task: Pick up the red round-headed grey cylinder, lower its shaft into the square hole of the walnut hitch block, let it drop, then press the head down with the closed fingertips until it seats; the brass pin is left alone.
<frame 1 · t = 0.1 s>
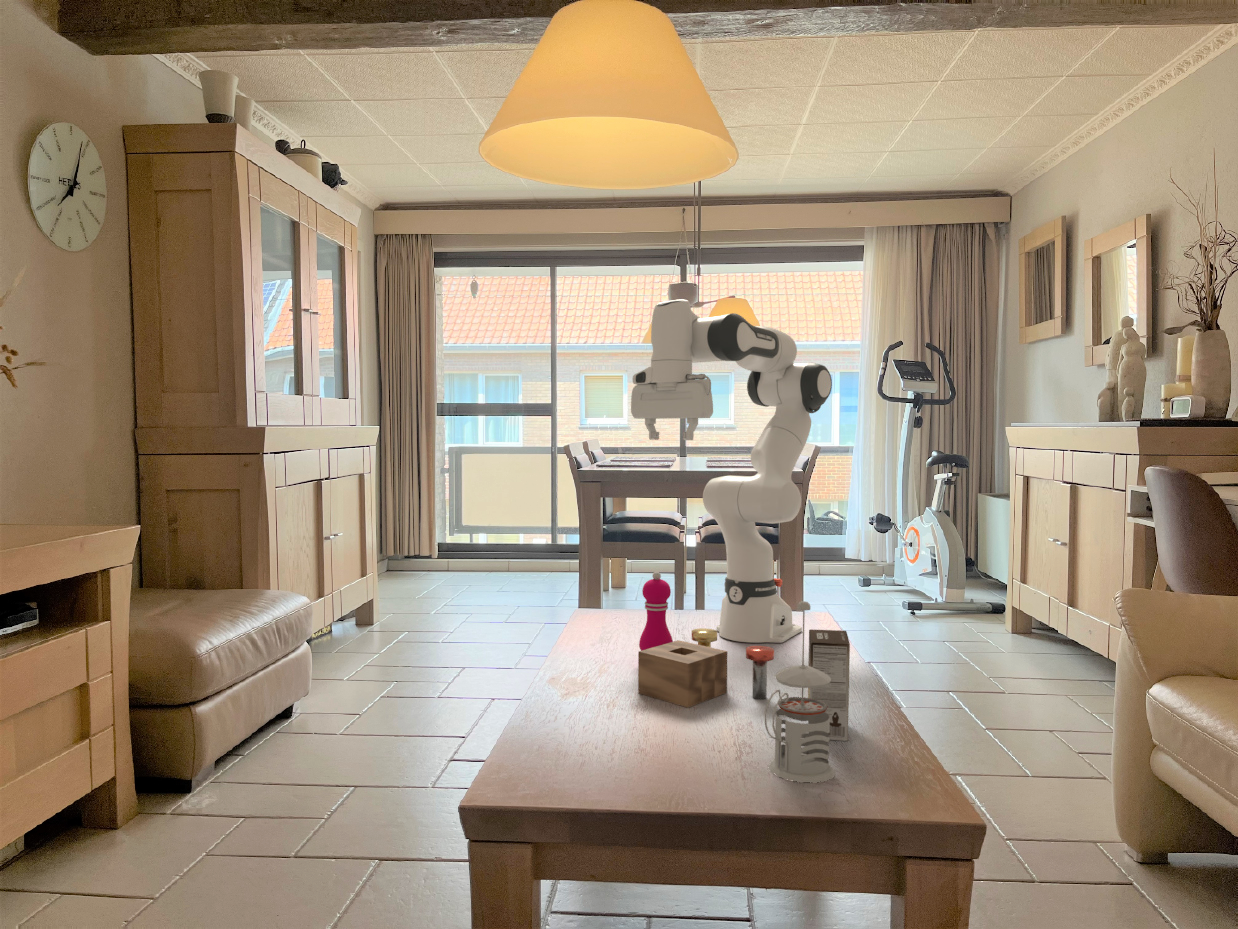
hand: (670, 440, 179), 48 cm above the table, tool pointing down, fingers open, 8 cm apart
coffee box: (827, 732, 140), on the table
french press: (797, 772, 123), on the table
brass pin: (703, 675, 171), on the table
pepper mill: (655, 666, 178), on the table
hitch block: (682, 693, 159), on the table
red round-headed grey cylinder: (759, 697, 157), on the table
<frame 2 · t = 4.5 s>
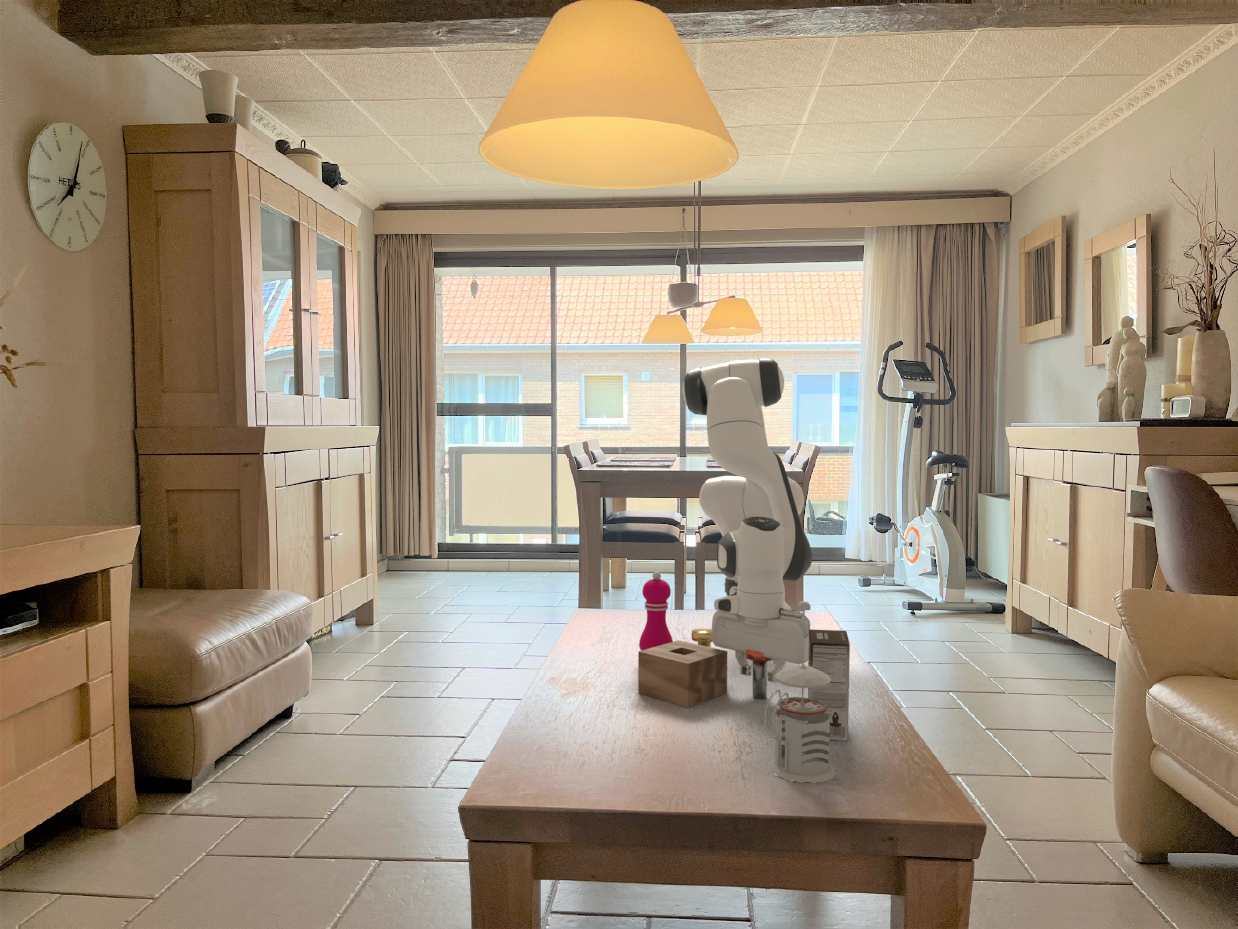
hand: (759, 678, 157), 4 cm above the table, tool pointing down, fingers closed on red round-headed grey cylinder, 5 cm apart
red round-headed grey cylinder: (759, 697, 157), on the table, touching gripper
everything else where it was.
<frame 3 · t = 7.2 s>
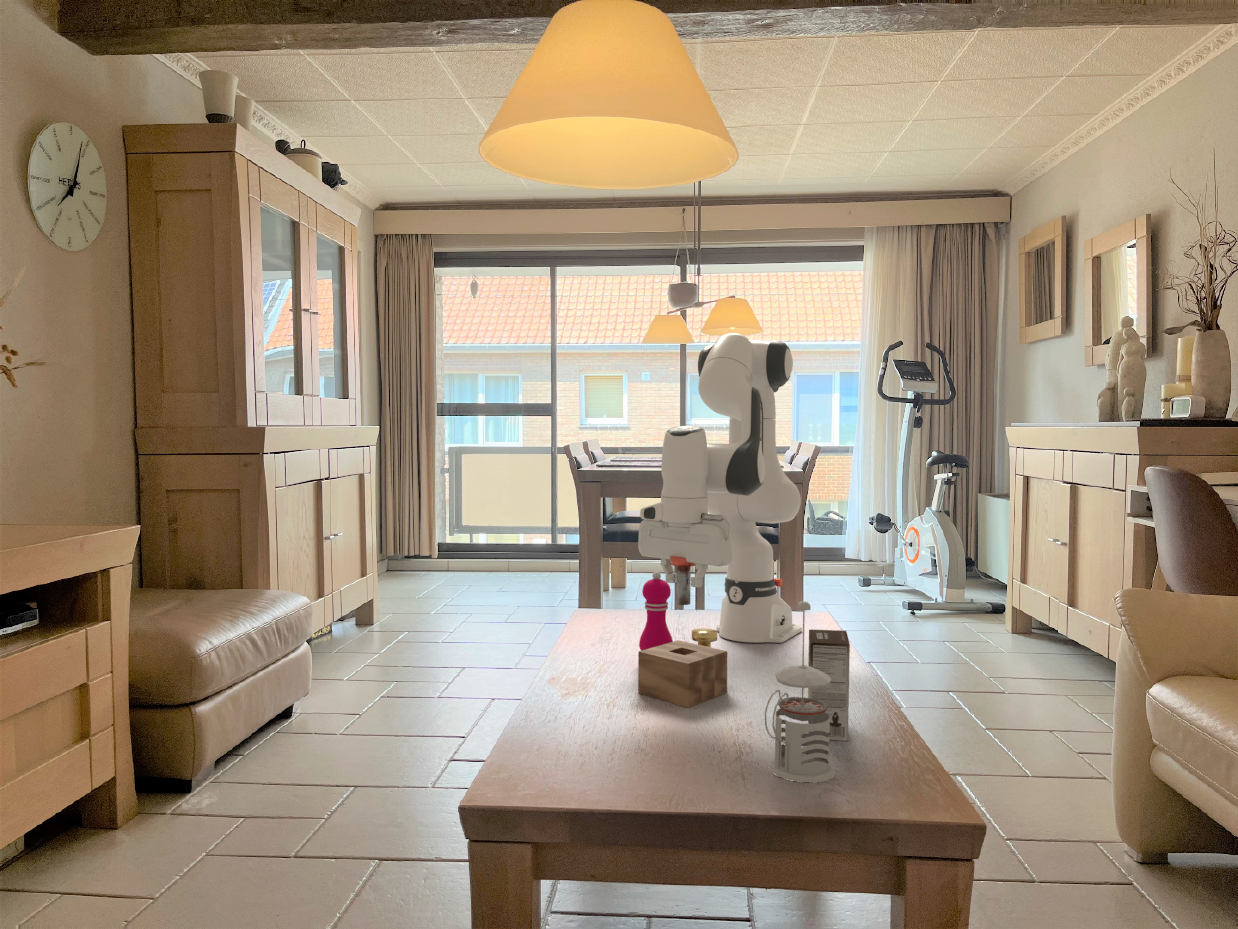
hand: (683, 584, 158), 21 cm above the table, tool pointing down, fingers closed on red round-headed grey cylinder, 5 cm apart
red round-headed grey cylinder: (683, 603, 158), point 17 cm above the table, touching gripper
everything else where it was.
when the fingers open (9 cm above the table, at t = 10.3 s): red round-headed grey cylinder drops 5 cm, resting on hitch block.
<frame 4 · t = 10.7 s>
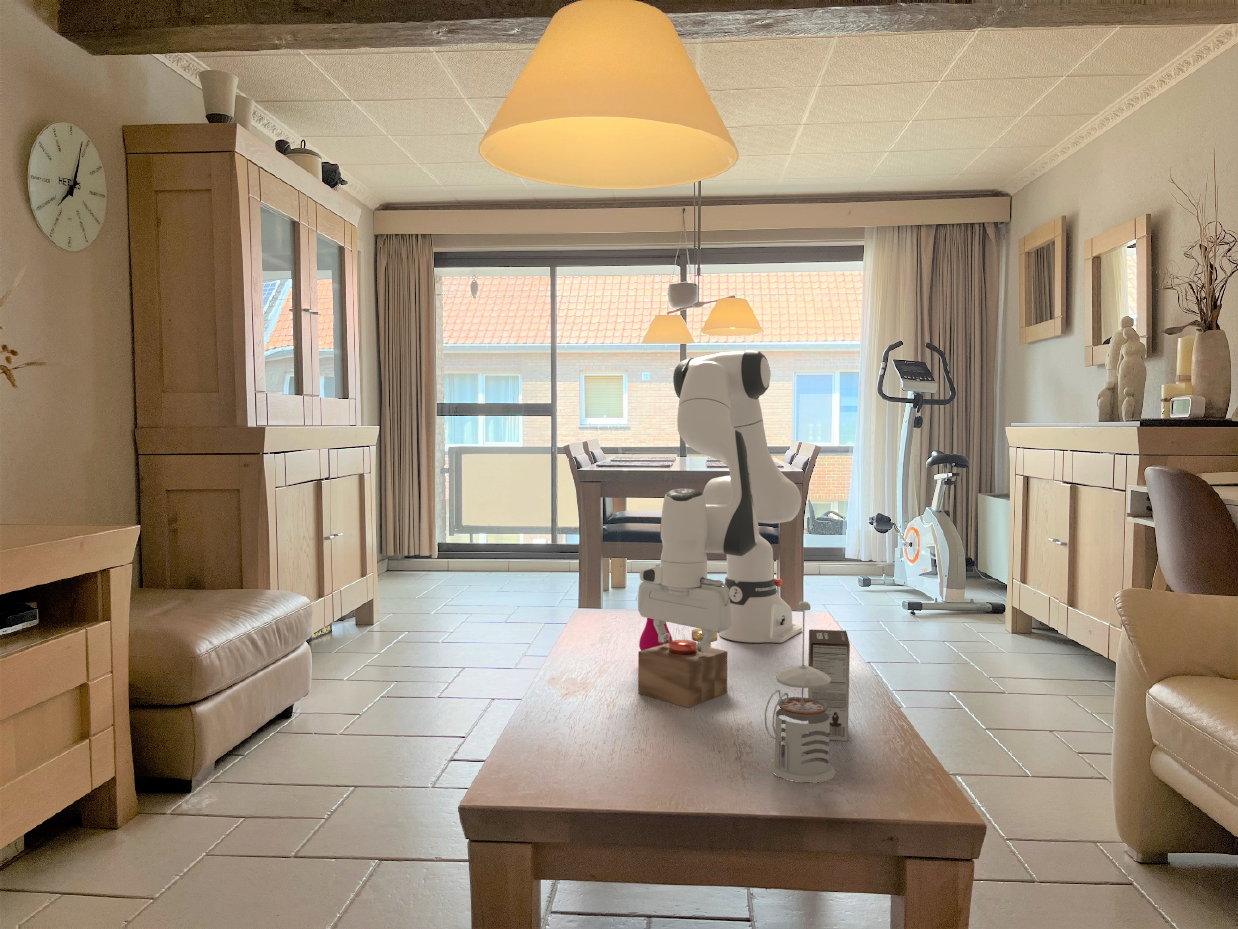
hand: (683, 647, 159), 9 cm above the table, tool pointing down, fingers open, 8 cm apart
red round-headed grey cylinder: (682, 690, 159), resting on hitch block
everything else where it was.
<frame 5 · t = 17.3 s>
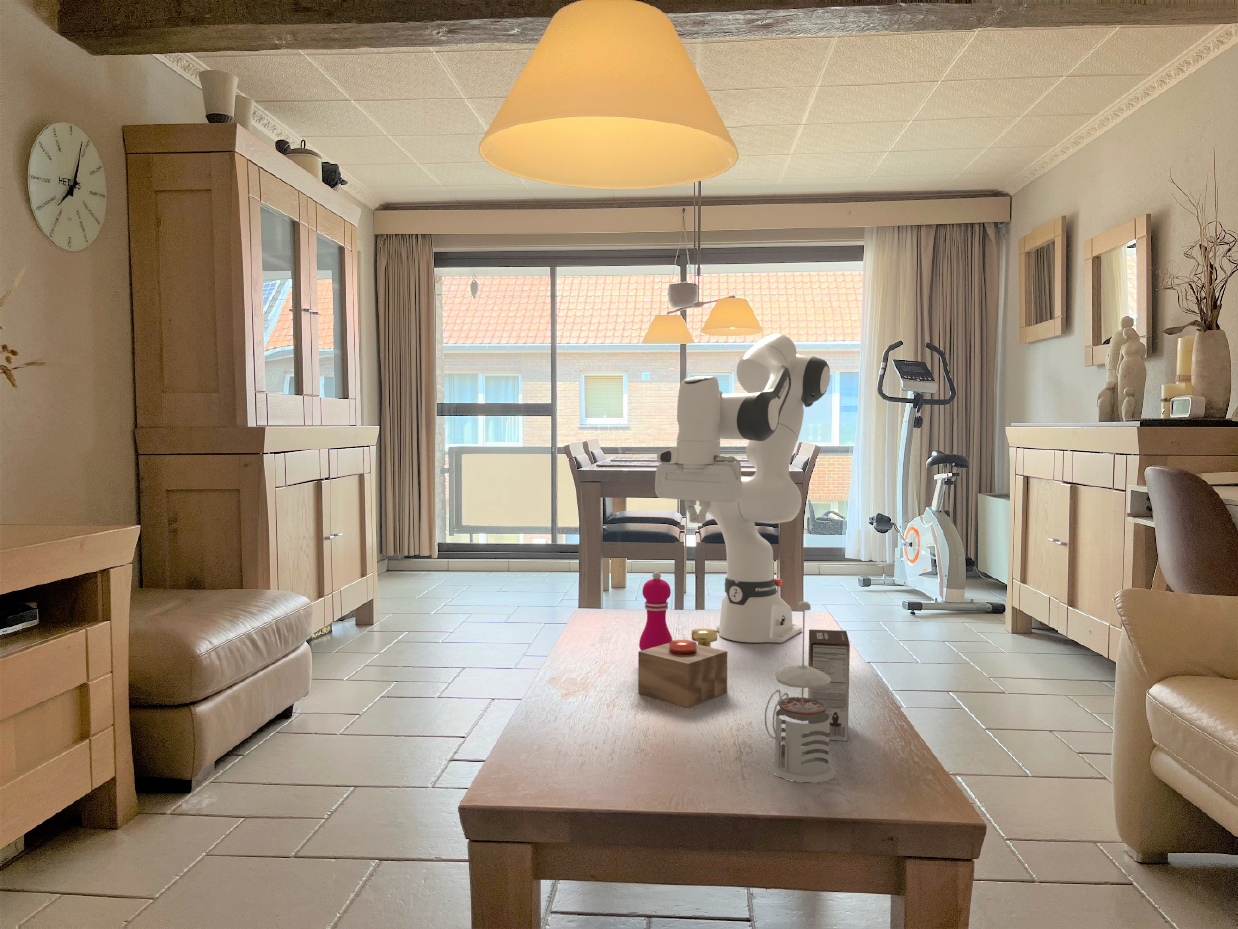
hand: (697, 522, 171), 31 cm above the table, tool pointing down, fingers closed
nothing on the table moved.
at the end: red round-headed grey cylinder 0.0 cm off-centre on the hitch block, point 0.5 cm above the hitch block's base; red round-headed grey cylinder tilted 0°; the gripper is holding nothing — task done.
